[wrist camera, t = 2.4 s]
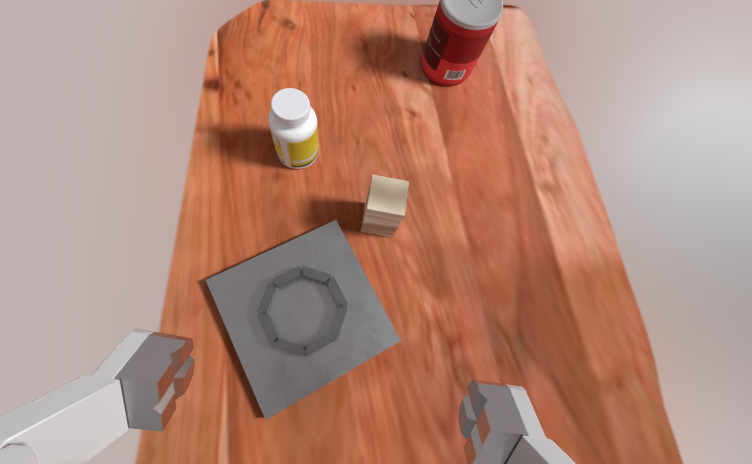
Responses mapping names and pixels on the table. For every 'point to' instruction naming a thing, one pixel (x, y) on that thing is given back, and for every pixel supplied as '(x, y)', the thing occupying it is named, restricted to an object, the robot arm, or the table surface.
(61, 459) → the robot arm
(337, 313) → the grey square socket board
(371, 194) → the birch block
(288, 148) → the supplement bottle
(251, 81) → the table surface
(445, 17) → the canned food
